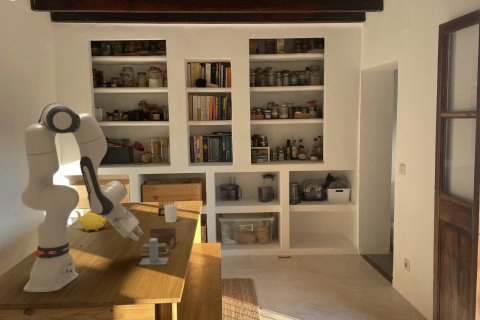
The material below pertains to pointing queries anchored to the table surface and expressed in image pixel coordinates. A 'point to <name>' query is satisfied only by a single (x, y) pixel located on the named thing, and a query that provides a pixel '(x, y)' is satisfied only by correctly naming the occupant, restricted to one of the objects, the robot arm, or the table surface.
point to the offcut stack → (161, 249)
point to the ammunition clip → (161, 208)
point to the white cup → (170, 212)
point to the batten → (153, 249)
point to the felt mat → (147, 262)
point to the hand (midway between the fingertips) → (140, 237)
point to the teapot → (91, 221)
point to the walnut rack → (164, 235)
